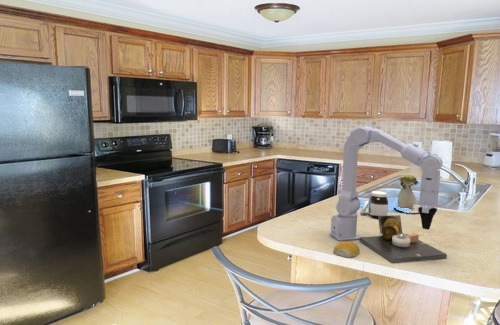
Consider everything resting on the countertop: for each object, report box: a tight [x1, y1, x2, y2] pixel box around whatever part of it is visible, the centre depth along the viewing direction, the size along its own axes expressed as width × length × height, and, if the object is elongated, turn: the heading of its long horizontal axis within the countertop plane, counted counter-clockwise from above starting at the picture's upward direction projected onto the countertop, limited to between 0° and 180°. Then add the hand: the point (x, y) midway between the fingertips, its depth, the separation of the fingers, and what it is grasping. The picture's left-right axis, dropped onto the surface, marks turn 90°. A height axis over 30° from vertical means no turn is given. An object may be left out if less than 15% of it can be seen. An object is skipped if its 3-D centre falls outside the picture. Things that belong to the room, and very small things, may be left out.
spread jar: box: [360, 190, 389, 219], centre depth 177 cm, size 12×11×12 cm
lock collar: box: [392, 233, 420, 247], centre depth 136 cm, size 12×6×2 cm, turn 122°
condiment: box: [378, 214, 403, 240], centre depth 144 cm, size 7×8×12 cm
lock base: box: [358, 232, 448, 264], centre depth 135 cm, size 21×21×6 cm
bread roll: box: [333, 240, 360, 258], centre depth 131 cm, size 8×9×4 cm
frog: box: [397, 174, 420, 214], centre depth 187 cm, size 12×13×18 cm
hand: (425, 228), depth 129 cm, fingers closed
